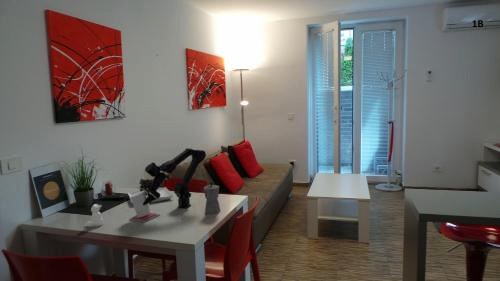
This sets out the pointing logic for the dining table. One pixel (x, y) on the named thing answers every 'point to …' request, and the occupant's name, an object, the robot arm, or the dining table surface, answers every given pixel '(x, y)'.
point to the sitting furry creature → (95, 217)
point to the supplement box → (140, 204)
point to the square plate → (163, 192)
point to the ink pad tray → (145, 217)
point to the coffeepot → (212, 199)
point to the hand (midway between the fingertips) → (140, 203)
